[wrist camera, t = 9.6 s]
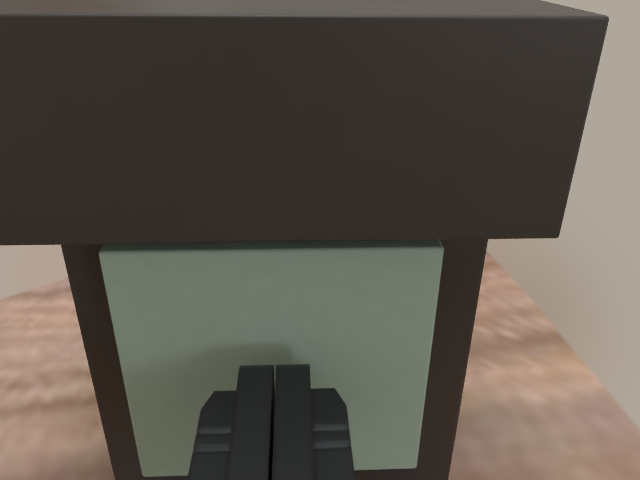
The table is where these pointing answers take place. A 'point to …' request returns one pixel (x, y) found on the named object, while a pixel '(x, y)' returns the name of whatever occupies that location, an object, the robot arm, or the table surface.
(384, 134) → the box
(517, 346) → the table surface
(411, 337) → the push plate
